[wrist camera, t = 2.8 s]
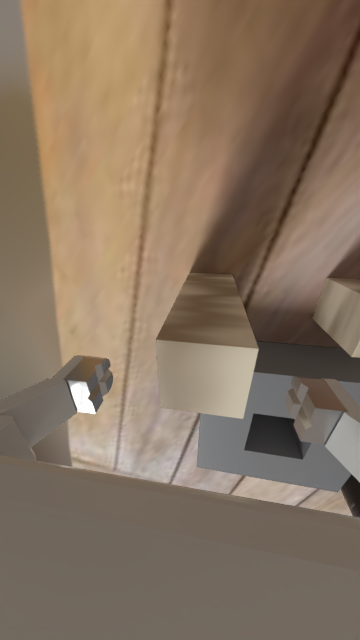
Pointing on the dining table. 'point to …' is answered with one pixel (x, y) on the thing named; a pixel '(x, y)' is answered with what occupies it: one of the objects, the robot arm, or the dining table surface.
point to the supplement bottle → (352, 495)
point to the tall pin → (206, 349)
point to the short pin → (341, 313)
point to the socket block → (278, 421)
